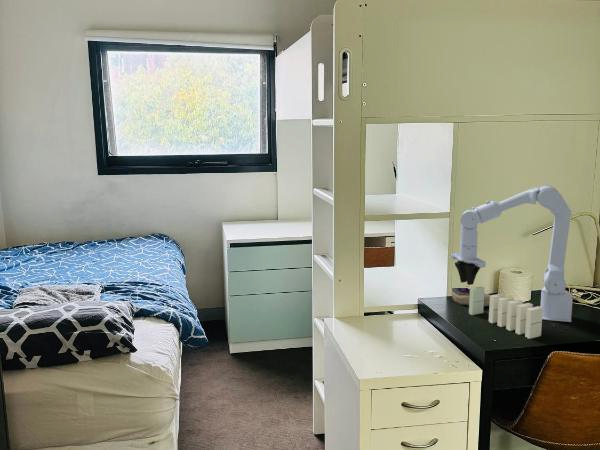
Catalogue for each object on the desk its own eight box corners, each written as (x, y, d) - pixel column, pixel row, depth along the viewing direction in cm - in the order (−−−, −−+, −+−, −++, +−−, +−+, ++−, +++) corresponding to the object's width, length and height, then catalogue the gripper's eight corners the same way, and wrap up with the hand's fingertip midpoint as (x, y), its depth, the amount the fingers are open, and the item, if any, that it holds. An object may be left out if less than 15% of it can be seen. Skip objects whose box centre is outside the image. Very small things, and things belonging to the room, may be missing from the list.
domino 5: (515, 333, 170) (516, 305, 169) (526, 330, 173) (528, 302, 171) (519, 334, 169) (521, 306, 167) (531, 331, 171) (532, 304, 170)
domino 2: (488, 321, 180) (489, 295, 179) (499, 319, 182) (501, 293, 181) (492, 323, 179) (493, 296, 177) (503, 320, 181) (505, 294, 179)
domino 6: (525, 337, 167) (526, 308, 166) (536, 334, 169) (538, 306, 168) (529, 338, 166) (531, 310, 164) (540, 335, 168) (542, 307, 166)
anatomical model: (476, 294, 210) (476, 282, 209) (496, 308, 194) (496, 295, 193) (446, 296, 208) (446, 284, 208) (463, 310, 193) (463, 297, 192)
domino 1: (468, 313, 188) (469, 288, 187) (479, 311, 190) (480, 286, 189) (472, 315, 187) (473, 289, 185) (483, 312, 189) (484, 287, 187)
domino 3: (497, 325, 177) (498, 298, 175) (508, 322, 179) (510, 296, 178) (501, 327, 176) (502, 300, 174) (512, 324, 178) (513, 297, 176)
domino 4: (506, 329, 174) (507, 301, 172) (517, 326, 176) (519, 299, 174) (510, 330, 172) (511, 303, 171) (521, 328, 175) (523, 300, 173)
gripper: (445, 242, 193) (443, 279, 196) (475, 250, 181) (473, 290, 183) (460, 240, 197) (459, 277, 199) (491, 248, 184) (489, 287, 186)
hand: (467, 283), depth 191 cm, fingers open, 3 cm apart
